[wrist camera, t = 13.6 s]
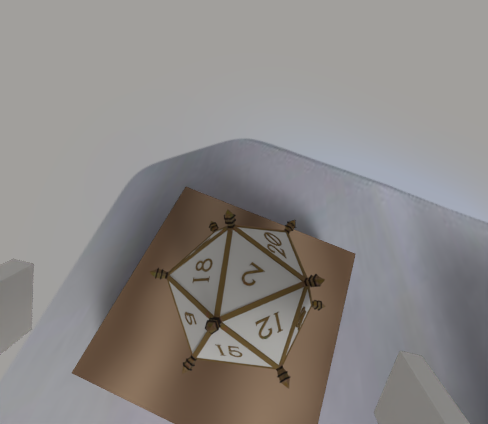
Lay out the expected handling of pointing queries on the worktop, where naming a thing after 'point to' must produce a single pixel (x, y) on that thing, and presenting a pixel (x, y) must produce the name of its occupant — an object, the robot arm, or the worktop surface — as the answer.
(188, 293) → the game die
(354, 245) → the worktop surface
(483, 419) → the worktop surface
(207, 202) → the walnut block
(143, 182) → the worktop surface
